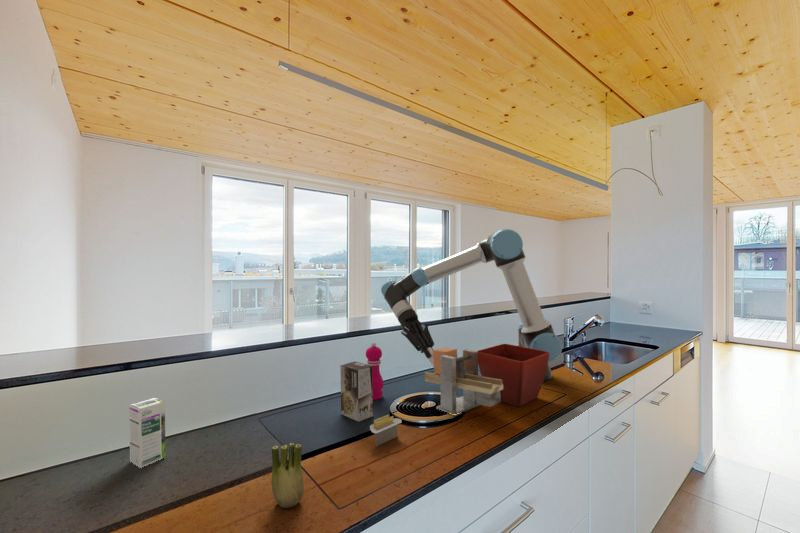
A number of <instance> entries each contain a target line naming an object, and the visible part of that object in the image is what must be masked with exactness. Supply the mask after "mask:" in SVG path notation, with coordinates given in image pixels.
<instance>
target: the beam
mask: <svg viewBox="0 0 800 533" xmlns="http://www.w3.org/2000/svg"><path fill="white" fill-rule="evenodd" d="M467 359H470V356H469V355H466V356H463V355H462V356H460V357H457V358H456V376H457V377H456V389H460V390H461V389H462V390H463V389H466V390H471V391H476V402H477V404H480V405H479V406H485V407H489V408H490V407H493V406H495V405H498V404H500V403H501V402H502V401H501V396H500V390H503V382H502V380H501V379H495V378H489V377H483V376H481V375H478V376H477V375H470V374H465V366H464V360H467ZM424 382H427V383H433V384H437V385H441V381H440V374H436V373H434V372H429V371H426V372H424Z"/></svg>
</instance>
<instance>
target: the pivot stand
mask: <svg viewBox="0 0 800 533" xmlns="http://www.w3.org/2000/svg"><path fill="white" fill-rule="evenodd" d="M478 351H479V350H472V349H468V348H466V349H463V350H462V357H463V356H466V355H469V356H470V359H467V360H464V366H465V374H470V375H477V376H479V365H478ZM440 381H441V384H440V404H439V405H437V406H436V410H438V409H439V410H438V411H440V410H441V411H440V412H443V411H444V412H443V413H445V412H447V413H446V414H448V413H451V414H457V413H460V412H464V413H466V412H468V411H470V410H472V409H475V408H476V407H479V406H481V405H480V404H477V402H476V391H471V390H466V389H462V396H459V397H457V388H456V358H455V357H451V356H447V355H442V356H440Z"/></svg>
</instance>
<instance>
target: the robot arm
mask: <svg viewBox="0 0 800 533" xmlns="http://www.w3.org/2000/svg"><path fill="white" fill-rule="evenodd" d="M523 246H524V243H523V239H522V237H521V235H520V234H519V233H518V232H516V230H513V229H511V228H509V229H508V228H502V229H499V230H497V231H496V232H494V233H492V234H491V235H489V236H488V237H487V238H484V239H483V240H481V241H478V242H476V244H475V246H472V247H469V248H468V249H465V250H462V251H460V252H458V253H456V254H453V255H451V256H447V257H446V258H444V259H443V258H442V259H441V260H438V261H436V262H433V263H431V264H429V265H426V266H424V267H422V268H421V267H419V266H418V267H416V268H414V269H413V270H411V271H410V272H409V273H407V274H406V275H405V276H403V277H402V278H401V279H400V280H398V281H395V280H388V281H387V282H385V283H384V284H383V285H381V288H380V292H381V294H382V296H383V298H384V300H385V301H386V302H387V304H388V307H389V308H390V309H391V311H392V312H393V314H394V316H395V318H396V319H397V322H399V325H400V327H402V330H401V331H400V333H401V335H403V336H404V337H405V338H406V339H407V341H408V342H410V344H411V345H412V346H413V347H414V348H415V350H416V351H418V352H420V353H421V354H424V355H425V358H427V359H428V360H429V362H430V363H431V365H432V367H433V368H434V360H433V350H434V349H433V347H434V346H435V342H434V339H433V337H432V335H431V333H430V329H429V325H428V324H422V323H421V321H419V316H418V314H417V313H416V310H414V308H413V306H412V304H411V303H410V302H409V300H408V299H407V298H409V297H410V296H411V295H412V294H414V293H415V292H416V291H418V290H420V289H421V288H422V287H425V286H426V285H428V284H431V283H434V282H436V281H438V280H441V279H445V278H446V277H449V276H451V275H453V274H456V273H458V272H461V271H464V270H466V269H468V268H471V267H474V266H476V265H478V264H481V263H484V264H487V263H489V262H493V261H494V264H495V266H496V268H498V269H500V270H501V271H502V273H503V276H504V279H505V282H506V284H507V286H508V289H509V292H510V295H511V298H512V300H513V303H514V305H515V308H516V310H517V313H518V316H519V318H520V321H521V322H520V323H519V324H518V330H517V331H518V334H517V335H518V346H521V347H526V348H531V349H536V350H541V351H547V352H549V360H548V365H547V370H546V373H545V377H544V381H549V380H551V379H552V377H553V376H552V375H553V374H552V373H553V372H552V370H551V367H550V363H551V362H554V361H556V360H557V359H558V358H559V357H560V355H561V354H562V351H563V345H562V341H561V339H560V338H559V337H558V335H556V333H555V332H554V328H553V326H552V323H551V322H550V321H548V320H547V319H545V317H544V313H543V312H542V308H541V305H540V303H539V300H538V297H537V295H536V293H535V291H534V288H533V284H532V282H531V279H530V277H529V274H528V271H527V269H526V266H525V264H524V261H525V260H526V255H525V252H524V250H523ZM544 381H543V382H544Z"/></svg>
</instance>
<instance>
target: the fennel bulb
mask: <svg viewBox="0 0 800 533" xmlns="http://www.w3.org/2000/svg"><path fill="white" fill-rule="evenodd" d="M302 449H303V446H302V445H301V444H299V443H298V444H295V443H293V442H290V443H289V450H288V445H287V444H285V445H282V446H280V451H279V446H278V445H275V446H272V447H271V454H272V456H271V457H272V458H271V460H272V462H271V463H272V467H271V489H272V490H271V491H272V496H273V497H274V500H275V502H276V504H278V505H279V507H280V508H282V509H292V508H294V507H295V506H297V505H298V503H299V502H300V501H301V500H302V499H303V496H304V494H305V493H304V492H305V484H304V483H305V480H304V475H303V470H302V469H303V468H302V451H303V450H302Z"/></svg>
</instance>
